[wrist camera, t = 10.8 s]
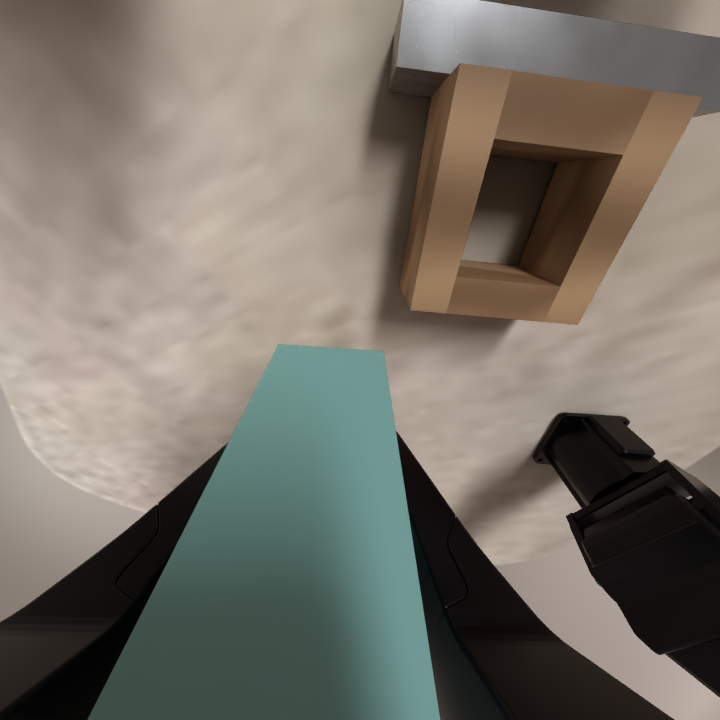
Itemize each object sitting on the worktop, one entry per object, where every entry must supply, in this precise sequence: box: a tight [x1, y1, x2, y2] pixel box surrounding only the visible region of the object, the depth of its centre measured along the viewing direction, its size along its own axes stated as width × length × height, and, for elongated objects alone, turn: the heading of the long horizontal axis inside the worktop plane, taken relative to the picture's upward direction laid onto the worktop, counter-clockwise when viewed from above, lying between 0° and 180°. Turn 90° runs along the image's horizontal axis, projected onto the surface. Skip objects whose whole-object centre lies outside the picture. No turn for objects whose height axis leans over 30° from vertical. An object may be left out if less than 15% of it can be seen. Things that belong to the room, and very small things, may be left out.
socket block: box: [399, 63, 703, 325], centre depth 15 cm, size 10×10×4 cm
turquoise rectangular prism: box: [88, 344, 440, 720], centre depth 8 cm, size 4×4×9 cm
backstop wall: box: [388, 0, 720, 117], centre depth 13 cm, size 2×14×4 cm, turn 85°
